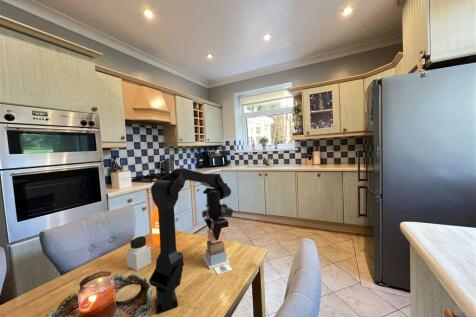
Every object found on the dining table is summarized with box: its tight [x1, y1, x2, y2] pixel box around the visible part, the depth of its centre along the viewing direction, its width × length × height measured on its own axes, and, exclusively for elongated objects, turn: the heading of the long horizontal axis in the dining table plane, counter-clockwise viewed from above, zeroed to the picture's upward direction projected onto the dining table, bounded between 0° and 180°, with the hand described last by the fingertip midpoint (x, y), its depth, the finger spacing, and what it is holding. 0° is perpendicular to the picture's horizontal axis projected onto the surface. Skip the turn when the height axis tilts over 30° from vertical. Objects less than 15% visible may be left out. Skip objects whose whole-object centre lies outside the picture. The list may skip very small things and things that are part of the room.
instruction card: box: [213, 264, 233, 275], centre depth 83 cm, size 4×6×1 cm
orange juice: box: [150, 204, 160, 246], centre depth 111 cm, size 8×9×20 cm
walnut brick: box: [206, 239, 226, 256], centre depth 89 cm, size 6×6×4 cm
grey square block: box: [203, 248, 231, 270], centre depth 89 cm, size 9×9×5 cm
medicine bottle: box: [126, 235, 153, 272], centre depth 89 cm, size 7×7×12 cm
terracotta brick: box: [207, 229, 224, 243], centre depth 89 cm, size 5×5×4 cm
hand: (215, 237), depth 89 cm, fingers closed on terracotta brick, 5 cm apart
